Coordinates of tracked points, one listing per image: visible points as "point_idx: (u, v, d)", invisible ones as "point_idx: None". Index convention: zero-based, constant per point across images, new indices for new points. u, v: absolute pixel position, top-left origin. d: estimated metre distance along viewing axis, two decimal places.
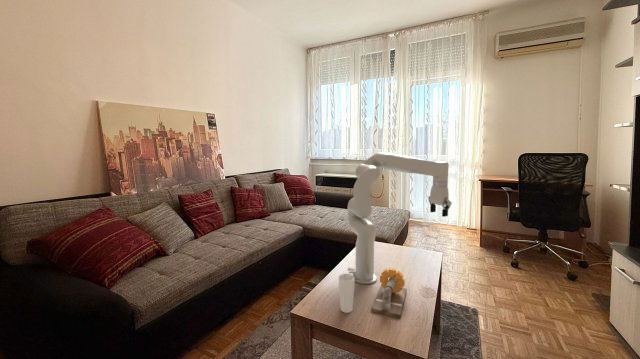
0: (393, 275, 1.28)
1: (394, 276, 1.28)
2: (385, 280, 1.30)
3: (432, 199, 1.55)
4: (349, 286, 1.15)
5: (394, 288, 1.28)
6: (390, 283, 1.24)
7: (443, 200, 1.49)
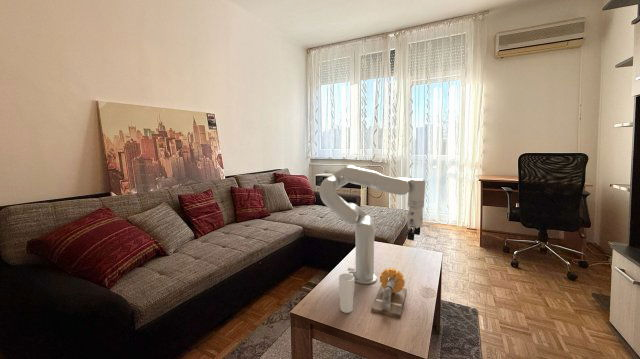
0: (393, 275, 1.28)
1: (394, 276, 1.28)
2: (385, 280, 1.30)
3: (419, 223, 1.34)
4: (349, 286, 1.15)
5: (394, 288, 1.28)
6: (390, 283, 1.24)
7: None
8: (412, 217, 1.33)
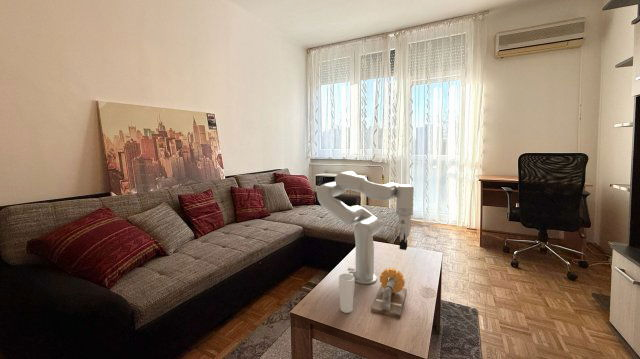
0: (393, 275, 1.28)
1: (394, 276, 1.28)
2: (385, 280, 1.30)
3: (409, 231, 1.28)
4: (349, 286, 1.15)
5: (394, 288, 1.28)
6: (390, 283, 1.24)
7: None
8: (403, 226, 1.26)
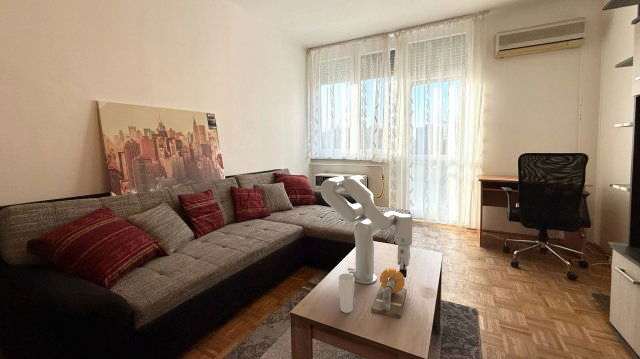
0: (393, 275, 1.28)
1: (394, 276, 1.28)
2: (385, 280, 1.30)
3: (408, 260, 1.30)
4: (349, 286, 1.15)
5: (394, 288, 1.28)
6: (390, 283, 1.24)
7: None
8: (402, 255, 1.28)
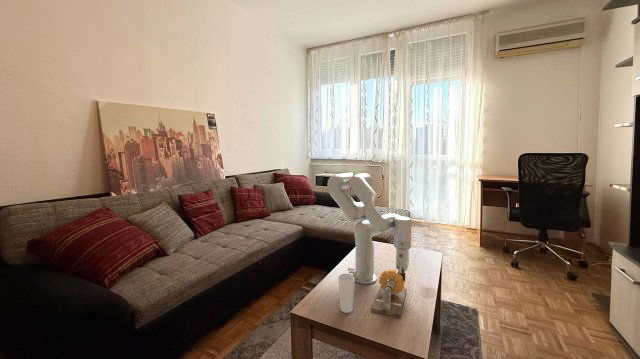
0: (392, 277, 1.27)
1: (393, 277, 1.26)
2: (385, 281, 1.28)
3: (407, 265, 1.26)
4: (349, 286, 1.15)
5: (393, 290, 1.27)
6: (390, 283, 1.24)
7: None
8: (401, 260, 1.24)
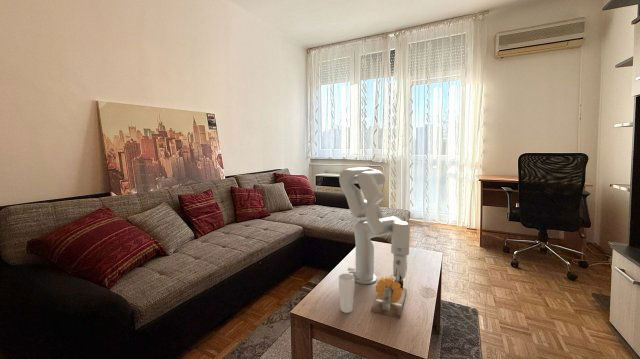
0: (389, 285, 1.20)
1: (391, 285, 1.19)
2: (381, 289, 1.21)
3: (405, 272, 1.19)
4: (349, 286, 1.15)
5: (391, 298, 1.20)
6: None
7: None
8: (398, 267, 1.17)
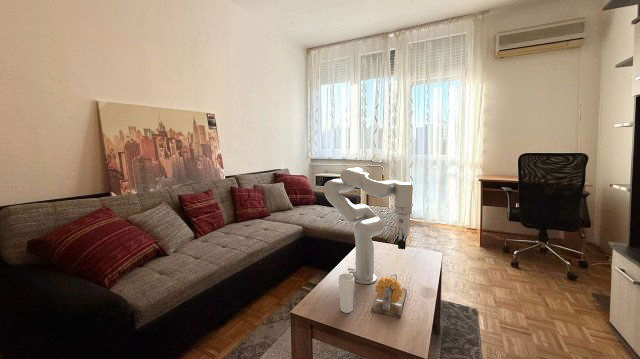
0: (389, 285, 1.20)
1: (391, 285, 1.19)
2: (381, 289, 1.21)
3: (408, 231, 1.23)
4: (349, 286, 1.15)
5: (391, 298, 1.20)
6: None
7: None
8: (401, 225, 1.22)
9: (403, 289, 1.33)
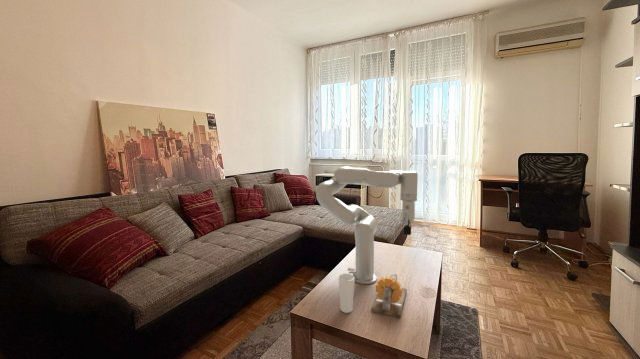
0: (389, 285, 1.20)
1: (391, 285, 1.19)
2: (381, 289, 1.21)
3: (413, 217, 1.30)
4: (349, 286, 1.15)
5: (391, 298, 1.20)
6: None
7: None
8: (407, 211, 1.28)
9: (403, 289, 1.33)
